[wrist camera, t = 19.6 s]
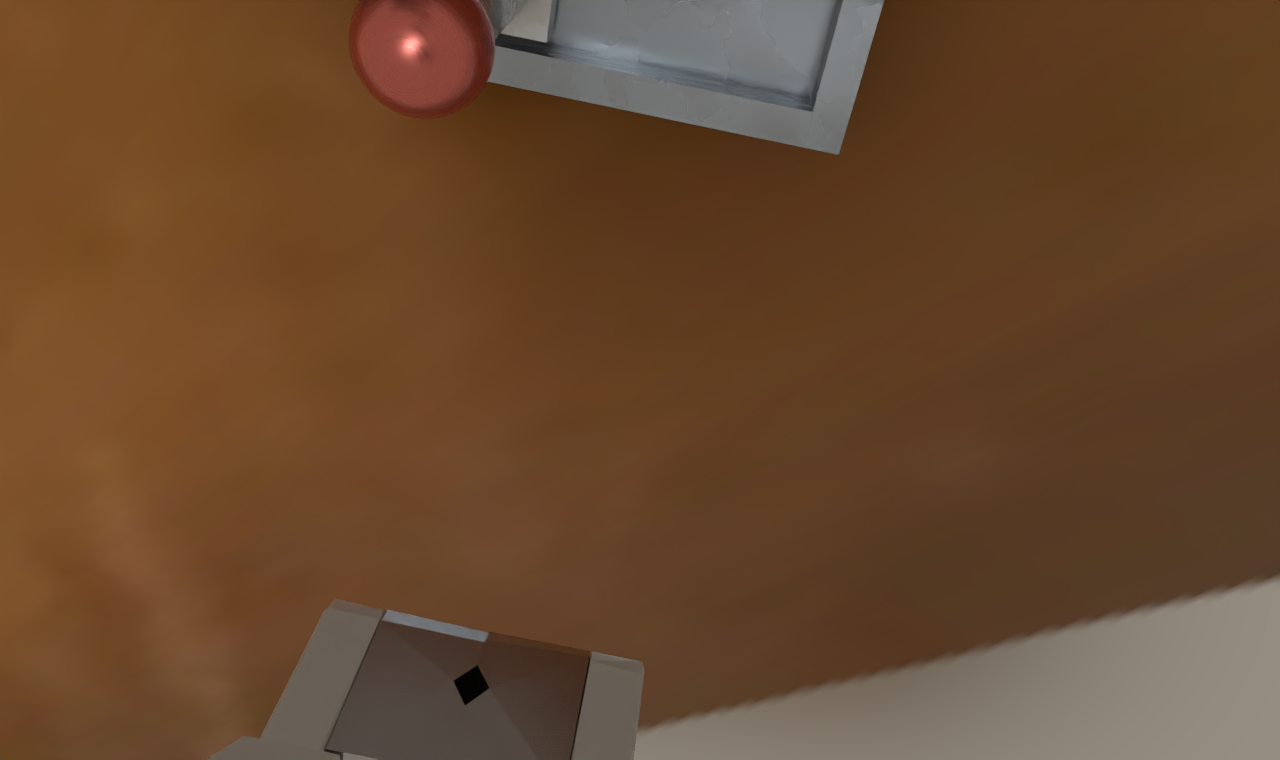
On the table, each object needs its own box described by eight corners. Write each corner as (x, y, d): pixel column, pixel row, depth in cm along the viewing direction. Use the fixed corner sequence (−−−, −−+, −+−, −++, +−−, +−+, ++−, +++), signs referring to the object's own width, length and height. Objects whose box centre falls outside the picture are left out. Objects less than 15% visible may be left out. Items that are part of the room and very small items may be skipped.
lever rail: (393, -155, 33) (366, -147, 31) (885, -51, 33) (894, -36, 31) (384, 35, 36) (360, 54, 34) (834, 129, 36) (838, 154, 34)
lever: (441, -96, 32) (319, -33, 24) (566, -69, 32) (492, 4, 24) (432, 20, 34) (318, 119, 25) (551, 45, 34) (477, 153, 26)
